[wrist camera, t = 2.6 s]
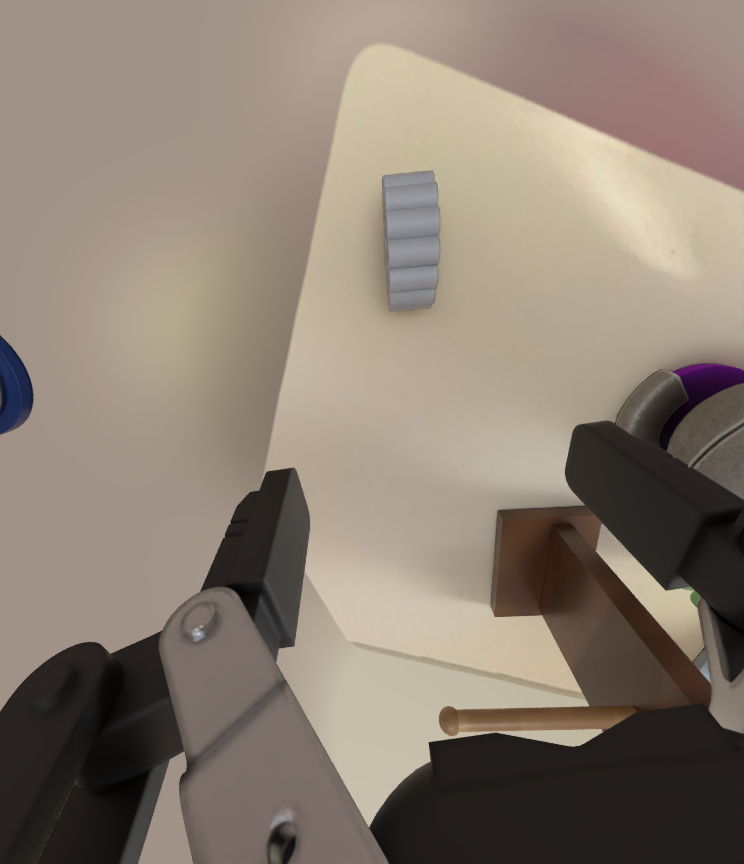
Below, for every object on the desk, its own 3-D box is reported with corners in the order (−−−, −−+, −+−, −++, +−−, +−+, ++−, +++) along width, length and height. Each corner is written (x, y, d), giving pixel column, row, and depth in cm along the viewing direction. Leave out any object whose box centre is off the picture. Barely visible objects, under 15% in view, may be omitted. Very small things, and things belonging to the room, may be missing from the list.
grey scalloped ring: (388, 310, 27) (391, 312, 20) (381, 196, 24) (382, 151, 17) (424, 307, 27) (440, 308, 20) (421, 192, 24) (440, 144, 17)
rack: (594, 505, 34) (804, 702, 17) (574, 602, 39) (721, 827, 22) (414, 514, 35) (447, 710, 18) (418, 609, 40) (446, 829, 23)
